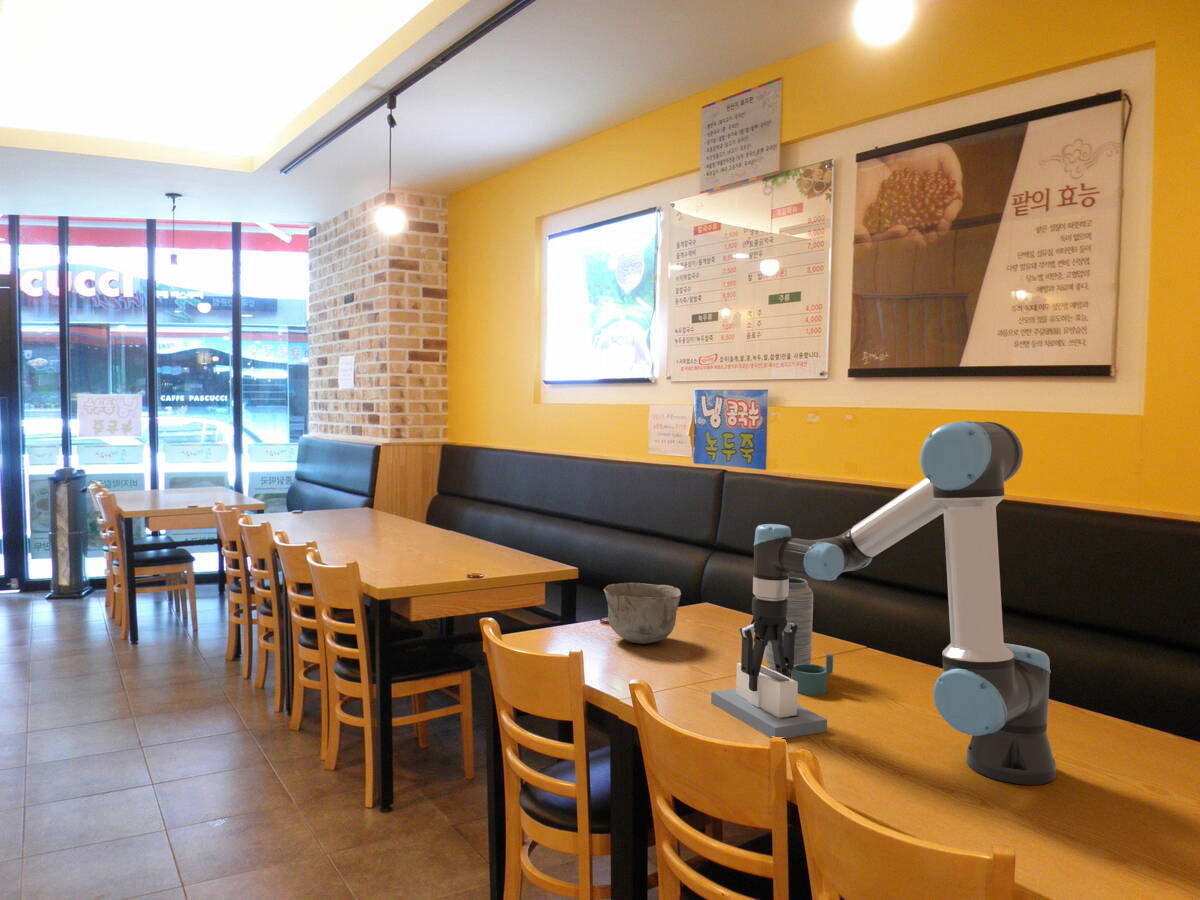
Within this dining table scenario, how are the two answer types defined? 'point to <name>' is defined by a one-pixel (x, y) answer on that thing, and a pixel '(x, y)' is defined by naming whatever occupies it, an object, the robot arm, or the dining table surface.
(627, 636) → the bowl
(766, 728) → the board
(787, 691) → the block
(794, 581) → the vase
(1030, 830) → the dining table surface
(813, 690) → the bracket
